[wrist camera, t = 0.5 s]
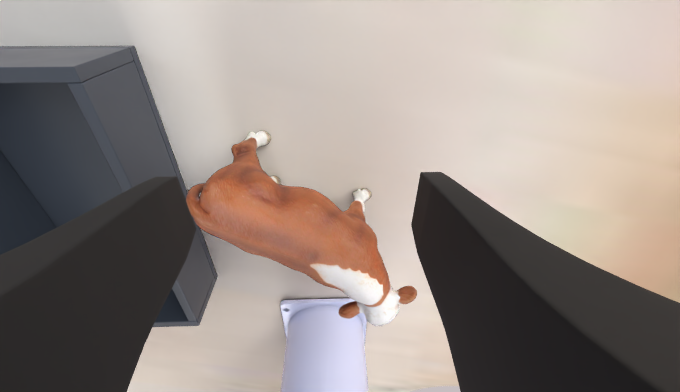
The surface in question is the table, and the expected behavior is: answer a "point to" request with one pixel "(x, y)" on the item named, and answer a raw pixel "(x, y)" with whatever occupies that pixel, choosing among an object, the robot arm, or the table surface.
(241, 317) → the table surface
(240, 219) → the bull figurine
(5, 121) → the tote
